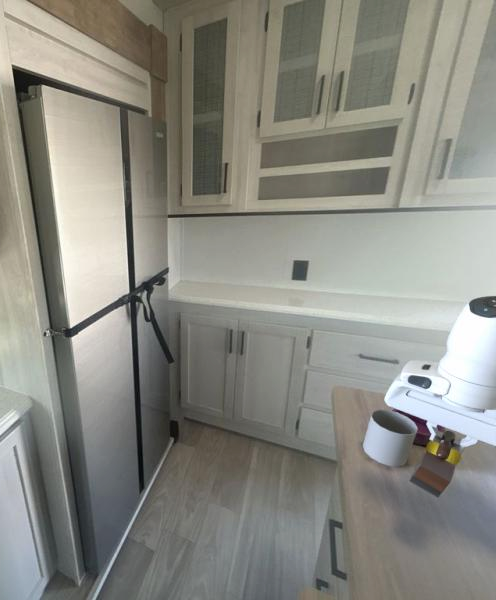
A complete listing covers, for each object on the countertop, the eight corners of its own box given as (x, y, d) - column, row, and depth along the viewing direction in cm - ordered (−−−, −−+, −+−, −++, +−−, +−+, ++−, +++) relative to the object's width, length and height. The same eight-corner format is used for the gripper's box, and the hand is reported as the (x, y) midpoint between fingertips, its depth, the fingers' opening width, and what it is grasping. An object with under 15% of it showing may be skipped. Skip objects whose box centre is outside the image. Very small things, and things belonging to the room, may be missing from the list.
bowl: (444, 432, 86) (448, 420, 85) (435, 454, 80) (440, 442, 79) (393, 412, 94) (396, 402, 92) (382, 431, 88) (386, 420, 87)
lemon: (450, 461, 78) (461, 435, 75) (457, 479, 74) (469, 453, 71) (419, 452, 81) (428, 427, 78) (424, 469, 77) (434, 444, 74)
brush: (425, 442, 68) (438, 423, 66) (451, 456, 66) (466, 436, 63) (408, 481, 61) (422, 461, 58) (437, 497, 58) (454, 477, 55)
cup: (388, 471, 78) (399, 438, 74) (354, 445, 85) (362, 414, 81) (415, 460, 79) (427, 428, 76) (380, 436, 87) (388, 406, 83)
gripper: (568, 405, 52) (533, 468, 57) (400, 357, 67) (384, 410, 73) (568, 425, 49) (531, 491, 54) (391, 370, 64) (375, 425, 69)
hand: (445, 444), depth 63 cm, fingers closed on brush
